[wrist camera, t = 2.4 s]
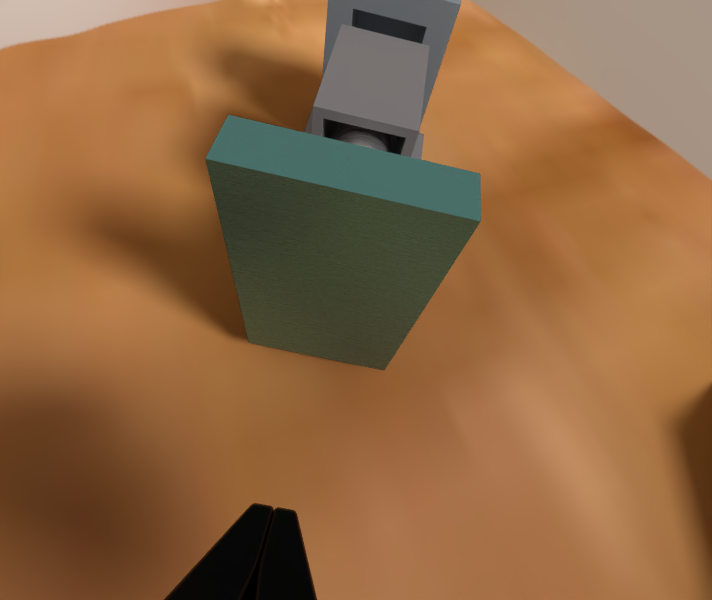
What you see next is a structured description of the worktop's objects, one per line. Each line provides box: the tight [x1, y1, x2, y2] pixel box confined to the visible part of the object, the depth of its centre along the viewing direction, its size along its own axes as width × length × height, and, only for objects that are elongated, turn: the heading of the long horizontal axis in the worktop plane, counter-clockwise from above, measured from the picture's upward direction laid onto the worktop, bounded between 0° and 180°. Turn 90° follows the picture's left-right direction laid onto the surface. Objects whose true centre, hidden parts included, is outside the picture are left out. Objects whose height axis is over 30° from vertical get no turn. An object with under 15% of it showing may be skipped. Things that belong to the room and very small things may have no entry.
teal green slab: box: [205, 115, 481, 370], centre depth 16 cm, size 13×6×10 cm, turn 171°
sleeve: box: [304, 24, 430, 160], centre depth 19 cm, size 6×6×8 cm
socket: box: [322, 0, 461, 125], centre depth 22 cm, size 4×6×9 cm, turn 81°
